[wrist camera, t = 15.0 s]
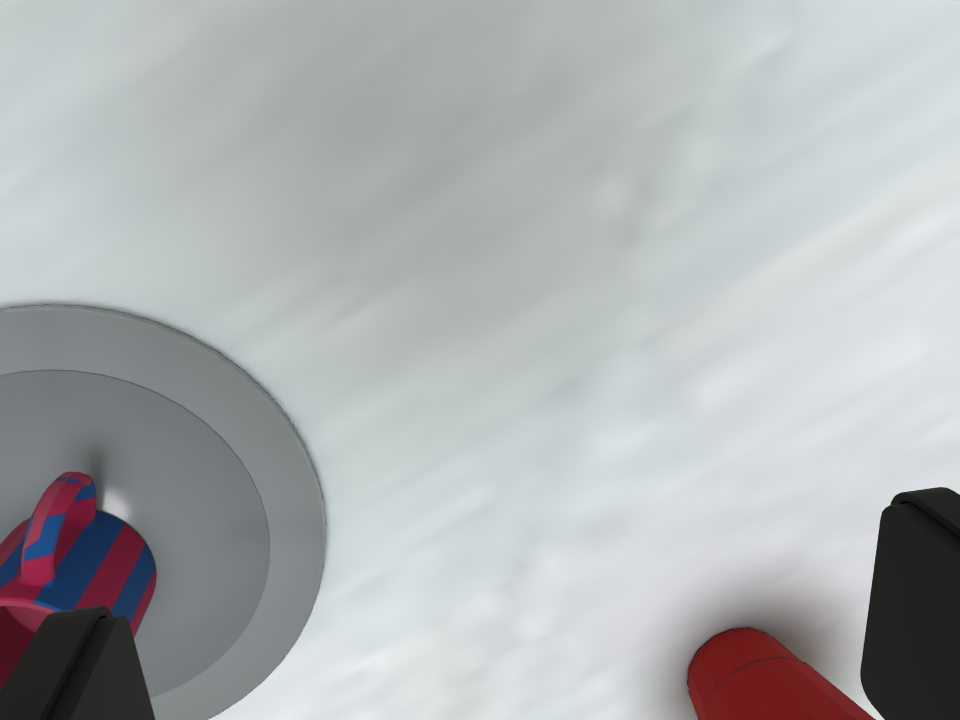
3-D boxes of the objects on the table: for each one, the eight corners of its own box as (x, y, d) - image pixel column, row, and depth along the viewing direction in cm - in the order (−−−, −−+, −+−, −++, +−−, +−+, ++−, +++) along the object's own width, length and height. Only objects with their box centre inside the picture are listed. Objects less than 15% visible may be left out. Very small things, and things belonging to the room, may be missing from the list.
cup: (-20, 616, 34) (-109, 730, 27) (39, 419, 32) (-44, 493, 25) (133, 651, 35) (82, 767, 29) (198, 467, 33) (160, 548, 27)
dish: (-275, 344, 30) (-303, 354, 29) (279, 271, 33) (276, 277, 31) (-91, 771, 37) (-107, 794, 36) (358, 684, 39) (358, 703, 38)
